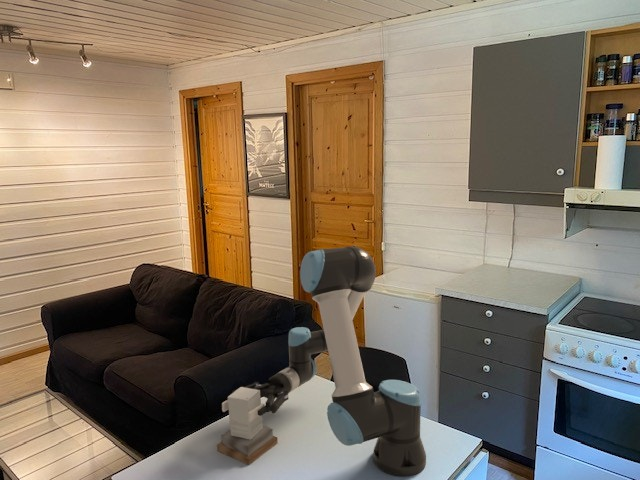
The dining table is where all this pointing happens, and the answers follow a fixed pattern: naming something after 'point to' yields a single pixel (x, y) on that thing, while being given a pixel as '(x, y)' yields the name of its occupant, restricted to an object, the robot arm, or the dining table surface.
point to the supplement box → (244, 412)
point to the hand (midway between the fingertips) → (235, 412)
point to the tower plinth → (247, 458)
